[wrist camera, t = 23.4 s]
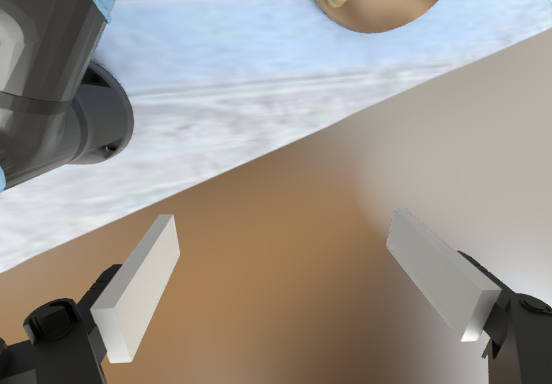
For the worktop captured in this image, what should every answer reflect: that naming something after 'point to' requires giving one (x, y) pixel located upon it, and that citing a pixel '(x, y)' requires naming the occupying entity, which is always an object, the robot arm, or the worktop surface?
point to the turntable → (374, 13)
